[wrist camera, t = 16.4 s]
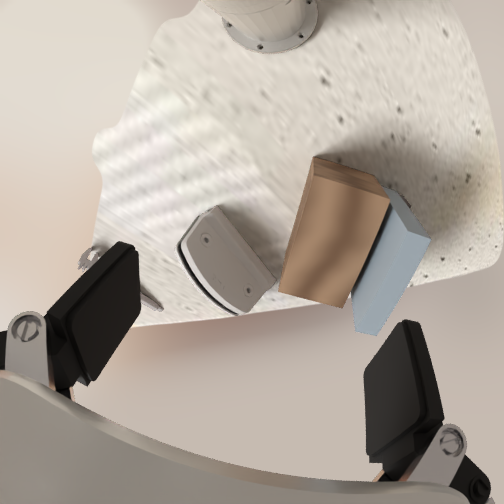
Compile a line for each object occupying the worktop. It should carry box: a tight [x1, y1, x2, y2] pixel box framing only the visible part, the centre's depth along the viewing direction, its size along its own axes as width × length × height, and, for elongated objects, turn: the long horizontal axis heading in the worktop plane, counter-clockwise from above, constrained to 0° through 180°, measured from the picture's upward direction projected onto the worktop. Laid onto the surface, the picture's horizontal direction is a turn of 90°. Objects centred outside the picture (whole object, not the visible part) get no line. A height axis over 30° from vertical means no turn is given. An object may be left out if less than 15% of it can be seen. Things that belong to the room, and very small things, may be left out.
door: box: [351, 186, 431, 336], centre depth 36 cm, size 4×14×15 cm, turn 169°
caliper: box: [78, 248, 163, 311], centre depth 55 cm, size 20×1×6 cm, turn 49°
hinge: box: [174, 206, 276, 316], centre depth 46 cm, size 17×5×10 cm, turn 37°
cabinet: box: [278, 157, 411, 308], centre depth 38 cm, size 14×16×10 cm
